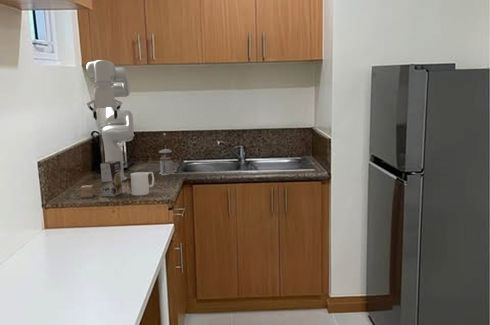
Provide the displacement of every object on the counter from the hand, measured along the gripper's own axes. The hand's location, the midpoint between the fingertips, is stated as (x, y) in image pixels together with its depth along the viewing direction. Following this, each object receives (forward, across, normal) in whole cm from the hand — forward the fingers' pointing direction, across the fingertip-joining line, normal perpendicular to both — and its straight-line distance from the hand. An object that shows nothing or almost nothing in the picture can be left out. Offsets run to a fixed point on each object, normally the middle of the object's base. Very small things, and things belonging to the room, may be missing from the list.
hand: (105, 119), depth 240 cm
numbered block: (+37, +12, +12) cm, 41 cm away
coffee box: (+37, +1, +14) cm, 40 cm away
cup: (+37, -14, +19) cm, 44 cm away
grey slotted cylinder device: (+36, -37, -32) cm, 61 cm away
